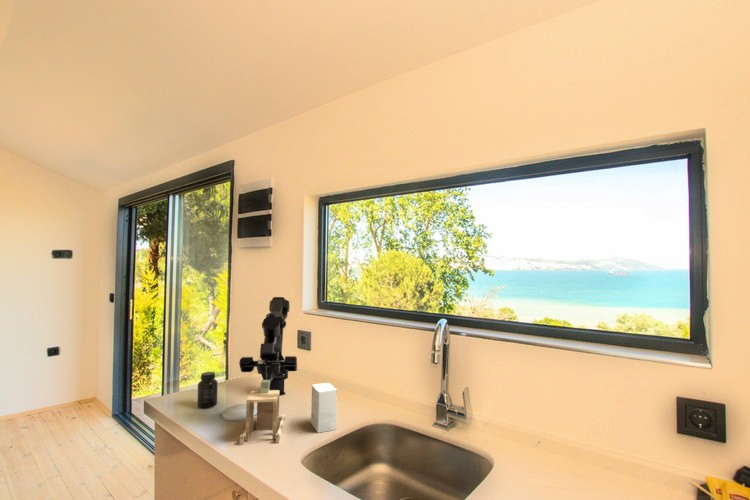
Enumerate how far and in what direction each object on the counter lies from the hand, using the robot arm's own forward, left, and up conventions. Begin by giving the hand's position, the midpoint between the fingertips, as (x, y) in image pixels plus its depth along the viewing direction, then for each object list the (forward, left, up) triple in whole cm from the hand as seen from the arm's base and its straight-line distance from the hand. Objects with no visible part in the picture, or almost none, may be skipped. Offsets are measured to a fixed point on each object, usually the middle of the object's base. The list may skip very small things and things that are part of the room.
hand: (265, 387), depth 120 cm
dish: (+4, -16, -13) cm, 21 cm away
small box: (-17, +8, -14) cm, 23 cm away
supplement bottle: (+13, -30, -13) cm, 35 cm away
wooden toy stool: (+2, +3, -13) cm, 14 cm away
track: (0, +1, -13) cm, 13 cm away
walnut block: (-1, -2, -13) cm, 13 cm away
